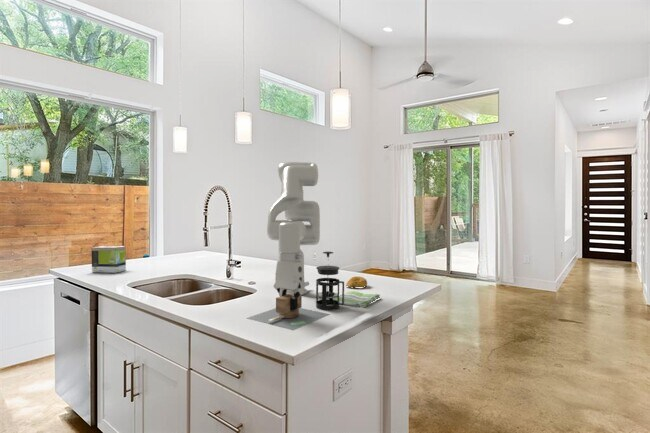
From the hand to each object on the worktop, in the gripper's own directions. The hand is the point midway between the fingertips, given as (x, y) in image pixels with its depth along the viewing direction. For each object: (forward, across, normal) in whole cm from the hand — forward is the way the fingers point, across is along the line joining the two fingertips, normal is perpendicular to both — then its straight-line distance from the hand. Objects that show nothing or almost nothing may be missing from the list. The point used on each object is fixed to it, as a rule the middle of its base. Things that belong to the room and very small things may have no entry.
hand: (289, 307), depth 134 cm
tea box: (+5, +144, -10) cm, 144 cm away
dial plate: (+4, 0, 0) cm, 4 cm away
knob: (+3, 0, +3) cm, 4 cm away
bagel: (+5, +6, -61) cm, 61 cm away
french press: (+5, -5, -18) cm, 19 cm away
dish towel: (+5, -6, -35) cm, 36 cm away
